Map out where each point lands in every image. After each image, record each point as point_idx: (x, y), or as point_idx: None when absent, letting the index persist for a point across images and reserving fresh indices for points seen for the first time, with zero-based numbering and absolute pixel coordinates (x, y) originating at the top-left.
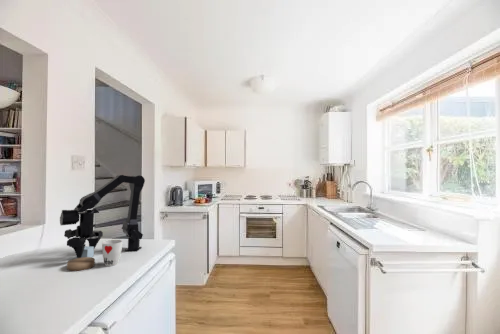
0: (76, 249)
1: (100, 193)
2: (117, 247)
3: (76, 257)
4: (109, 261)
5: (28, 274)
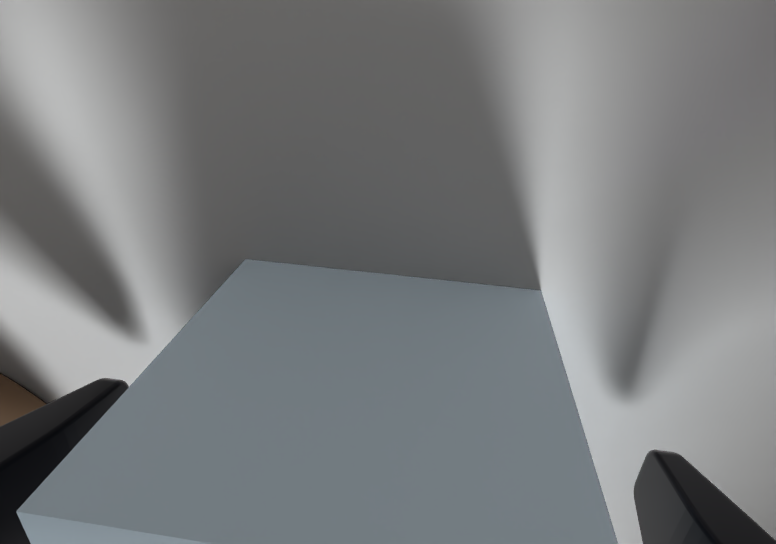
0: None
1: None
2: None
3: (218, 291)
4: None
5: None
